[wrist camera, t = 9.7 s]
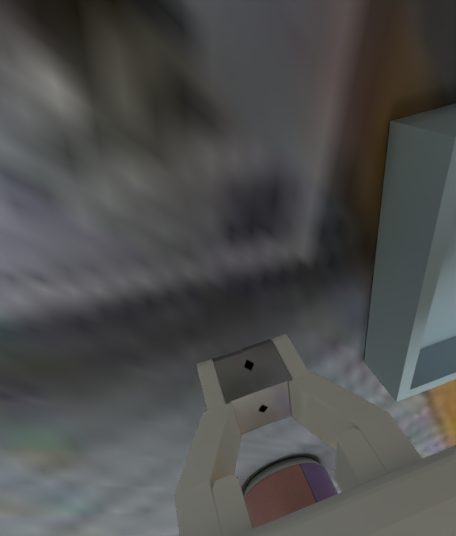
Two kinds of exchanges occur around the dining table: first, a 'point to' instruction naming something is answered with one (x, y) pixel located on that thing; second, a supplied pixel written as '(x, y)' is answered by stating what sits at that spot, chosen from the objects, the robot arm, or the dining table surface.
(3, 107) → the dining table surface
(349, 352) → the dining table surface
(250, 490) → the beverage can
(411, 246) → the grey-blue tray
